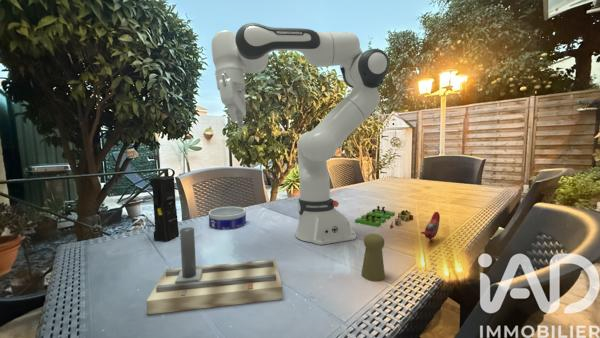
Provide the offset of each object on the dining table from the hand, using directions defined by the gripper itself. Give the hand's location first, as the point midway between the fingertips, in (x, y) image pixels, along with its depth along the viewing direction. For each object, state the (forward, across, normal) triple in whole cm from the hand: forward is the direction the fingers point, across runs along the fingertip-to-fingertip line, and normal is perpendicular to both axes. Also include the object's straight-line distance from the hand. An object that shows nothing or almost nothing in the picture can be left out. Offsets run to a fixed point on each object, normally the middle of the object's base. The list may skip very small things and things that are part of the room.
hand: (237, 124), depth 87 cm
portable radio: (+34, +14, +35) cm, 51 cm away
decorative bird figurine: (+50, +7, -57) cm, 77 cm away
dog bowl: (+35, +30, +16) cm, 49 cm away
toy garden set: (+46, +34, -52) cm, 77 cm away
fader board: (+44, -20, +7) cm, 49 cm away
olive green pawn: (+49, -14, -31) cm, 60 cm away
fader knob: (+39, -22, +13) cm, 47 cm away
